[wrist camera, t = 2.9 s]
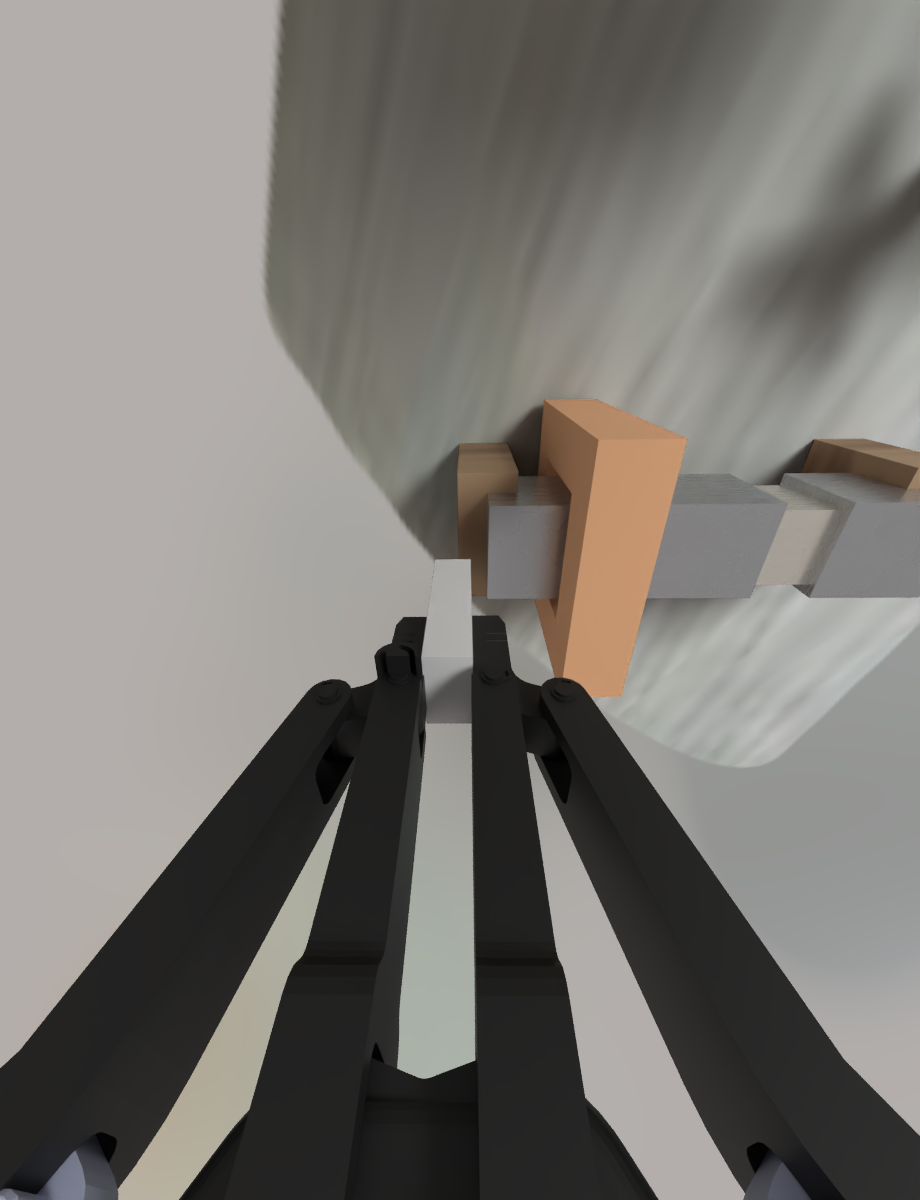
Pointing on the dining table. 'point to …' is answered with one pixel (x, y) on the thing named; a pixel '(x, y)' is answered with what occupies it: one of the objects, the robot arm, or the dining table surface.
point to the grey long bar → (729, 538)
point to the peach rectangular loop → (604, 534)
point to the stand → (498, 473)
